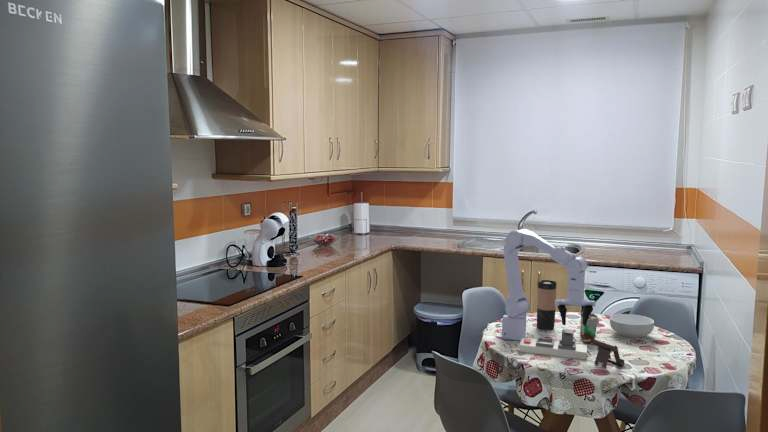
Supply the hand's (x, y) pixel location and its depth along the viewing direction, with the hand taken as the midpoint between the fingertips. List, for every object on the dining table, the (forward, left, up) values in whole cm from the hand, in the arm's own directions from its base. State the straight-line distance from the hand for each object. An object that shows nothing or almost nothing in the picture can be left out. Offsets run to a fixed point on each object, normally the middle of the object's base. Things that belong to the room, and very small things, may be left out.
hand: (574, 324), depth 224 cm
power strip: (-7, -3, -10) cm, 13 cm away
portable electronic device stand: (+12, -10, -11) cm, 19 cm away
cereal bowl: (+22, +29, -11) cm, 38 cm away
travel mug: (-12, +27, -10) cm, 31 cm away
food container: (+6, +16, -10) cm, 20 cm away
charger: (-2, -3, -8) cm, 9 cm away
